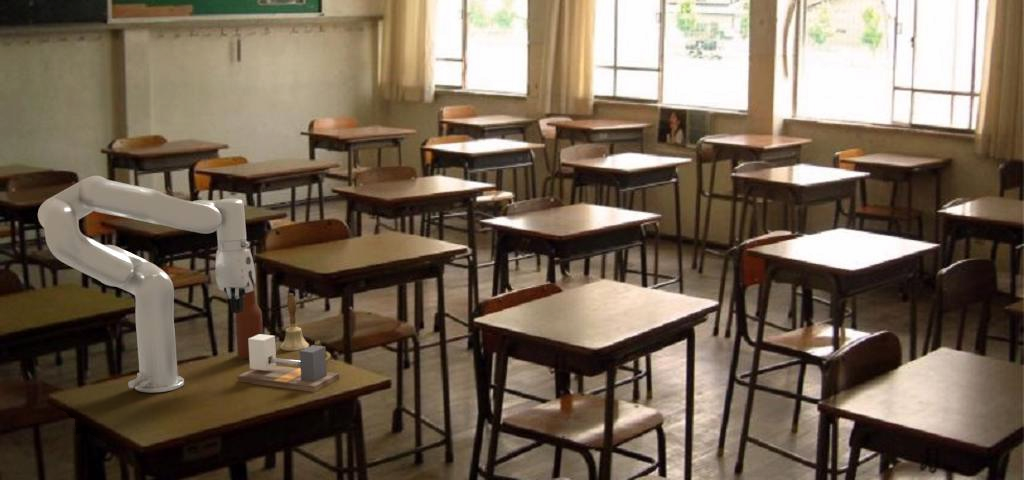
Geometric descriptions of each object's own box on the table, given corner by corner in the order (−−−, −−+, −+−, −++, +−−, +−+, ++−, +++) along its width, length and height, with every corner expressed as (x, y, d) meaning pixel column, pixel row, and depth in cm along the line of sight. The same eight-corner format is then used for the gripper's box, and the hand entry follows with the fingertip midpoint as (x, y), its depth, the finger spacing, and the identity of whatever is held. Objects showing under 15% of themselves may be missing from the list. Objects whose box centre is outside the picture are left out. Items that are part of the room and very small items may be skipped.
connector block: (314, 382, 325) (312, 352, 323) (301, 380, 326) (299, 350, 325) (326, 375, 330) (325, 346, 329) (313, 374, 332) (312, 345, 330)
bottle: (267, 353, 358) (262, 267, 353) (259, 360, 350) (254, 273, 346) (242, 352, 358) (238, 267, 354) (234, 359, 351) (229, 273, 347)
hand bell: (285, 352, 358) (282, 298, 355) (276, 345, 365) (273, 292, 362) (312, 348, 362) (310, 294, 359) (303, 341, 369) (301, 289, 366)
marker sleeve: (265, 370, 331) (263, 340, 330) (249, 368, 333) (248, 338, 332) (276, 365, 336) (274, 335, 334) (261, 363, 338) (259, 334, 336)
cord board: (314, 392, 321) (314, 385, 321) (237, 381, 331) (237, 375, 331) (339, 378, 332) (339, 372, 332) (264, 369, 342) (264, 363, 342)
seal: (325, 372, 343) (334, 356, 358) (327, 355, 342) (335, 340, 357) (292, 368, 343) (302, 352, 358) (293, 352, 342) (303, 337, 357)
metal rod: (305, 367, 328) (305, 362, 328) (253, 361, 335) (253, 356, 334) (308, 366, 329) (308, 361, 329) (256, 359, 336) (256, 354, 336)
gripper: (264, 244, 332) (268, 310, 335) (218, 240, 338) (223, 306, 342) (247, 249, 325) (252, 317, 329) (200, 246, 331) (206, 313, 335)
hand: (237, 311), depth 335 cm, fingers closed
